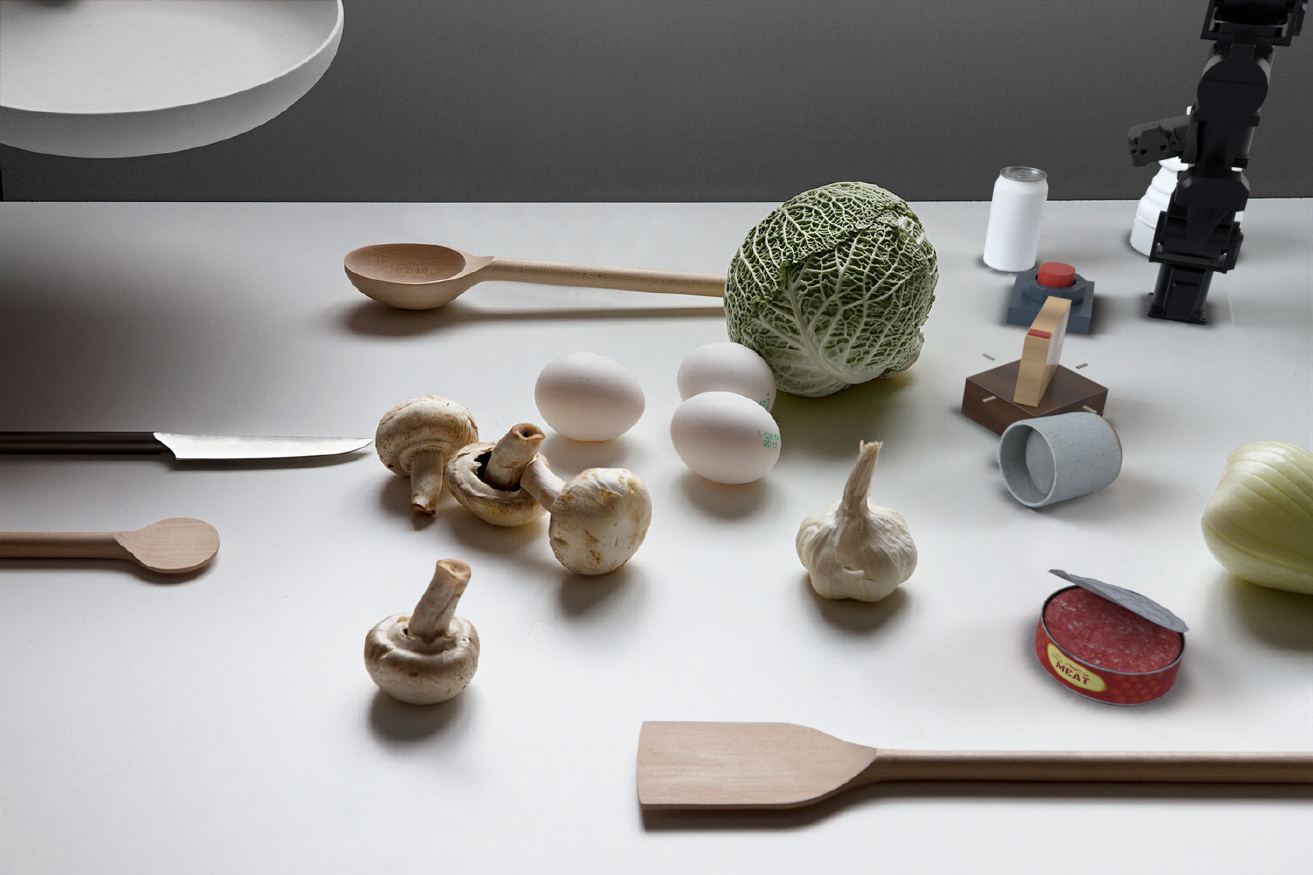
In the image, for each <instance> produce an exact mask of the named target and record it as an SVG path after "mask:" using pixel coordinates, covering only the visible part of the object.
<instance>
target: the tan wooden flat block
mask: <svg viewBox="0 0 1313 875" xmlns="http://www.w3.org/2000/svg"><path fill="white" fill-rule="evenodd" d="M1071 302H1072V300H1068V299H1063V298H1058V297H1052V296H1049V297H1048V298H1047V300H1046V302H1045V303H1044V305H1043V307H1042V308H1041V310H1040V312H1039V313H1038V315H1037V317H1036V319H1035V320H1034V322H1033V324H1032V325H1031V327H1029V329H1028V330H1027V332H1026V334H1025V336H1024V342H1023V347H1022V353H1021V358H1020V359H1021V363H1020V368H1019V374H1018V379H1017V385H1016V390H1015V396H1014V402H1016V403H1020V404H1024V405H1029V406H1033V407H1037V406H1038V404H1039V402H1040V400H1041V398H1042V396H1043V394H1044V392H1045V390H1046V388H1047V386H1048V385H1049V383H1050V381H1051V379H1052V377H1053V375H1054V373H1055V371H1056V369H1057V367H1058V365H1059V364H1060V362H1061V355H1062V350H1063V346H1064V342H1065V341H1064V340H1065V336H1066V333H1067V332H1066V327H1067V322H1068V317H1069V312H1070V307H1071Z"/></svg>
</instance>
